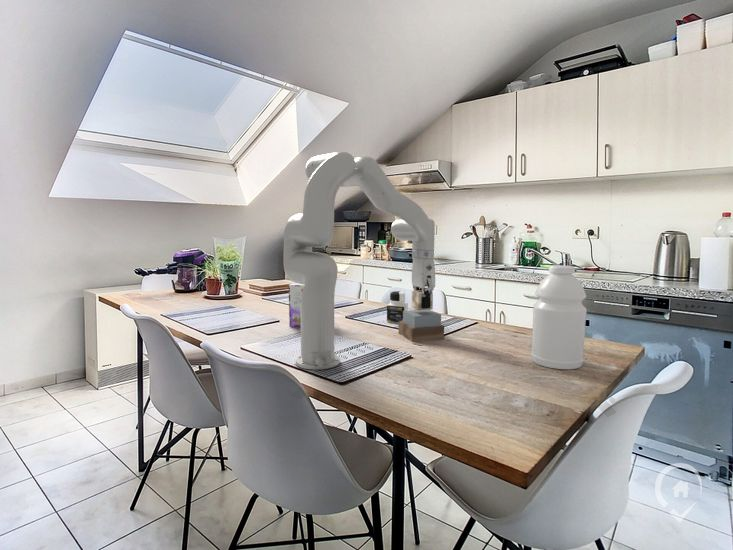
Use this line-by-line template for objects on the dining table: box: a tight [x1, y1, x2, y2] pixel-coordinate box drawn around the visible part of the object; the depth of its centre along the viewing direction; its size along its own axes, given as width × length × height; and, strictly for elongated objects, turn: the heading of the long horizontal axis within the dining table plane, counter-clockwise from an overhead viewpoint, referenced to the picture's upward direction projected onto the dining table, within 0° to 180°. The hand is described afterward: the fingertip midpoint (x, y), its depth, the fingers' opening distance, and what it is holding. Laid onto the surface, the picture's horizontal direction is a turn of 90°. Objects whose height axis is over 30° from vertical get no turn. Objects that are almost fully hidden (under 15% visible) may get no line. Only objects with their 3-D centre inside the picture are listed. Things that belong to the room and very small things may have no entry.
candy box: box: [288, 282, 304, 328], centre depth 171 cm, size 14×6×16 cm, turn 84°
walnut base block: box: [398, 321, 445, 343], centre depth 157 cm, size 12×12×5 cm
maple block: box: [411, 290, 434, 311], centre depth 155 cm, size 6×6×6 cm
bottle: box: [530, 264, 588, 370], centre depth 127 cm, size 14×14×28 cm
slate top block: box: [403, 309, 442, 328], centre depth 156 cm, size 10×10×4 cm
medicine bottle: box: [386, 291, 409, 324], centre depth 180 cm, size 7×7×12 cm
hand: (421, 306), depth 155 cm, fingers closed on maple block, 5 cm apart
